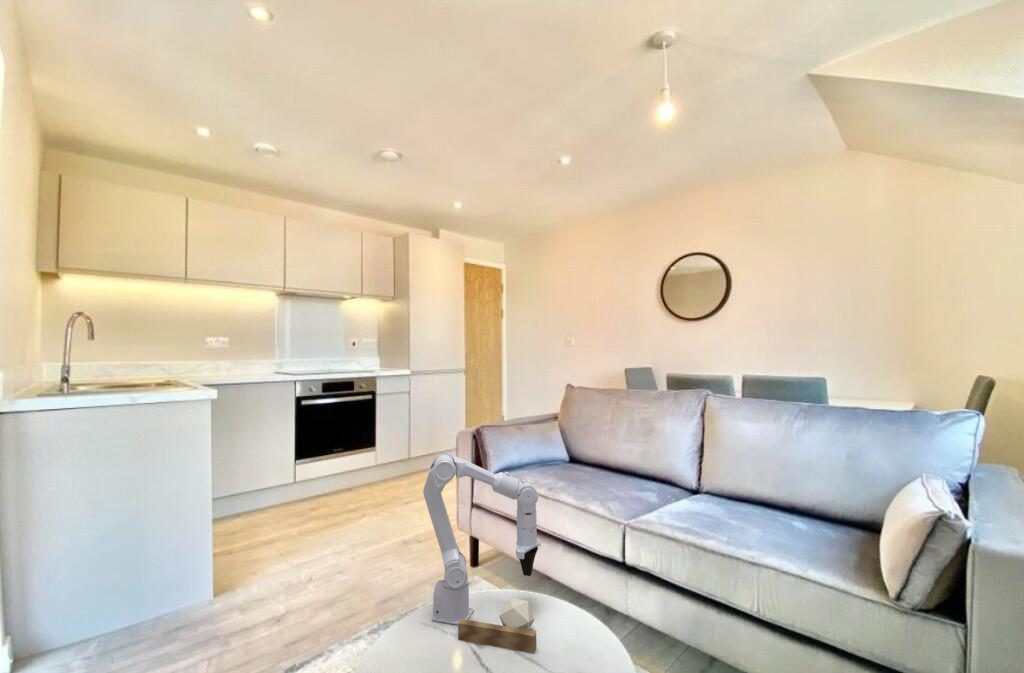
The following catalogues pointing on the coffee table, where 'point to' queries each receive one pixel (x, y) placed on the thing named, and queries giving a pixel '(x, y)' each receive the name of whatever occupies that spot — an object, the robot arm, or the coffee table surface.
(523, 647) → the walnut board
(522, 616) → the die
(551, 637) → the coffee table surface
